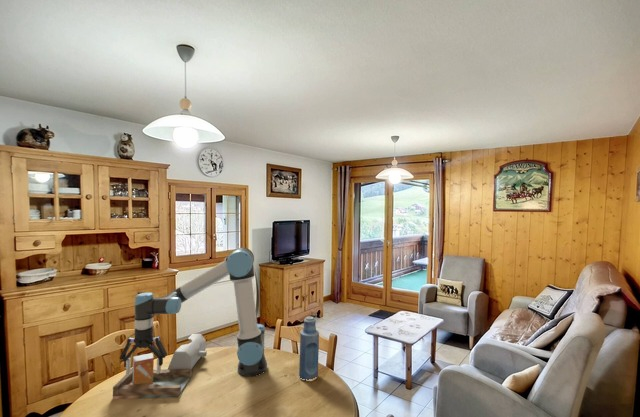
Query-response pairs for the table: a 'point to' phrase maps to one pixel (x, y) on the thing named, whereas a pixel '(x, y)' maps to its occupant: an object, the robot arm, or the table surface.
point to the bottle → (309, 349)
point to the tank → (189, 353)
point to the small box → (143, 369)
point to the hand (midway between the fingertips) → (143, 373)
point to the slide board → (154, 385)
